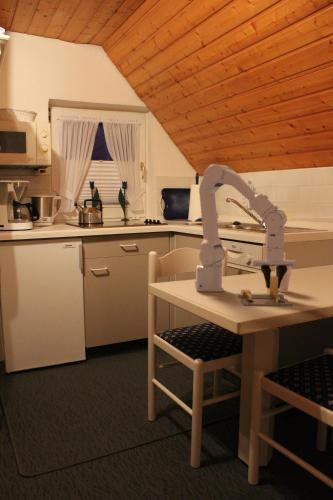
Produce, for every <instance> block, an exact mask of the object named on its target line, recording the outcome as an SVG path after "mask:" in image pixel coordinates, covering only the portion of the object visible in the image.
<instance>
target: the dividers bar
mask: <svg viewBox="0 0 333 500" xmlns="http://www.w3.org/2000/svg"><path fill="white" fill-rule="evenodd" d="M278 296H280V299H285V295H284V294H283V293H278ZM237 298H238V299H249V301H252V299H277V298H275V297H274V296H273V295H269V294H268V293H258V292H257V293H254V292H253V293H252V291H251V290H250V289H240V293H239V292H238V293H237Z"/></svg>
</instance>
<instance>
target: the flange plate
mask: <svg viewBox="0 0 333 500" xmlns="http://www.w3.org/2000/svg"><path fill="white" fill-rule="evenodd" d="M276 300H277V299H252V301H249V299H242V298H240V302H241V304H242V305H243V307H244V306H245V307H251V306H252V307H253V306H254V307H259V306H260V307H261V306H262V307H263V306H264V307H266V306H267V307H270V306H271V307H272V306H273V307H274V306H275V307H279V306H280V307H282V306H283V307H292V306H293V303H291V301H290V300H288V299H287V298H286V299H285V298H284V299H280V301H276Z"/></svg>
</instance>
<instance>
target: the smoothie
mask: <svg viewBox="0 0 333 500" xmlns="http://www.w3.org/2000/svg"><path fill="white" fill-rule="evenodd" d="M286 253H287V252H285V251H283V260H286V256H287V255H286ZM273 267H274V272H275V274H274V275H276V266H273ZM286 268H287V272H286V273H285V275H284V277H283V279H282V281H281V284H280V288H279V289H278V293H287V292H288V290H289V287H290V286H289V284H290V280H291V279H290V278H291V275H292V274H291V273H292V269H293V268H294V267H293V266H286Z"/></svg>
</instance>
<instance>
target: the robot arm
mask: <svg viewBox="0 0 333 500" xmlns="http://www.w3.org/2000/svg"><path fill="white" fill-rule="evenodd" d="M202 173H203V176H202V180H201V183H200V185H199V190H198V192H199V203H200V213H201V215H200V216H201V225H202V234H203V235H202V237H203V240H202V241H201V243H200V251H199V254H198V258H199V262H200V263H201V264H197V265H196V266H195V281H194V283H195V284H194V287H195V289H196V291H197V292H225V289H224V287H223V284H222V283H223V261H224V259H225V257H226V251H225V248H224V246H223V242H222V240H221V239H220V236H219V227H218V225H219V223H218V216H217V203H216V192H217V191H219V189H220V188H221V187H222V186H224V185H227V186H231V187H233V188H234V189H235V190H237V192H239V193H240V194H241V195H242V196H243V197H244V198H246V200H248V204H249V205H248V206H249V208H251V209H252V211H253V212H255V214H256V215H257V216H258V217H260V218H261V219H262V220H263V221H264V225H265V226H266V235H265V255H264V256H265V259H251V261H250V262H251V267H254V268H255V267H260V270H261V272H262V274H263V278H264V281H265V288H266V289H267V288H270V276H272V269H271V267H274V266H276V274H275V276H277V277H278V289H279V288H280V284H281V281H282V279H283V277H284V275H285V273H286V272H287V268H286V266H293V268H296V267H297V264H298V262H297V260H295V259H285V260H284V250H285V249H284V247H285V225H286V224H287V222H288V217H287V215H286V213H285V212H284V211H283V210H281V209H279V206H277V205H274V203H273V202H271V201H270V200H269V199H268V198H269V196H268V195H266V194H263V193H256V192H255V191H254V189H252V187H251V186H250V185H248V183H247V182H246V181H245V180H244V179H243V178H242V177H241V176H240V175H239V173H237V172H236V171H235V170H233V169H232V168H231V167H230V166H229V165H227V164H218V163H212V164H210V165H208V166H207V168H206V169H204V171H203V172H202Z"/></svg>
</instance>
